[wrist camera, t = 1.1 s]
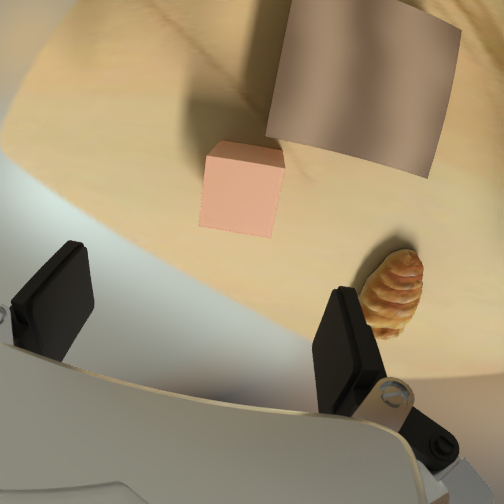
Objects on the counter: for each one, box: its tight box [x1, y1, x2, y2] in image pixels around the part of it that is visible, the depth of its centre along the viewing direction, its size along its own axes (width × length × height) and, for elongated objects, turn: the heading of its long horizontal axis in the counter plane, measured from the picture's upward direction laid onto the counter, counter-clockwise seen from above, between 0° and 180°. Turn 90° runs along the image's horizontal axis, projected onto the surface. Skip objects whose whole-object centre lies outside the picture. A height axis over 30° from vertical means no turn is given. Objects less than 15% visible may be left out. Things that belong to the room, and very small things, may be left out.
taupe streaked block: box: [265, 0, 462, 178], centre depth 19 cm, size 12×12×5 cm
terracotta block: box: [199, 140, 285, 239], centre depth 23 cm, size 5×5×6 cm
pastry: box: [358, 249, 424, 340], centre depth 29 cm, size 9×7×4 cm
